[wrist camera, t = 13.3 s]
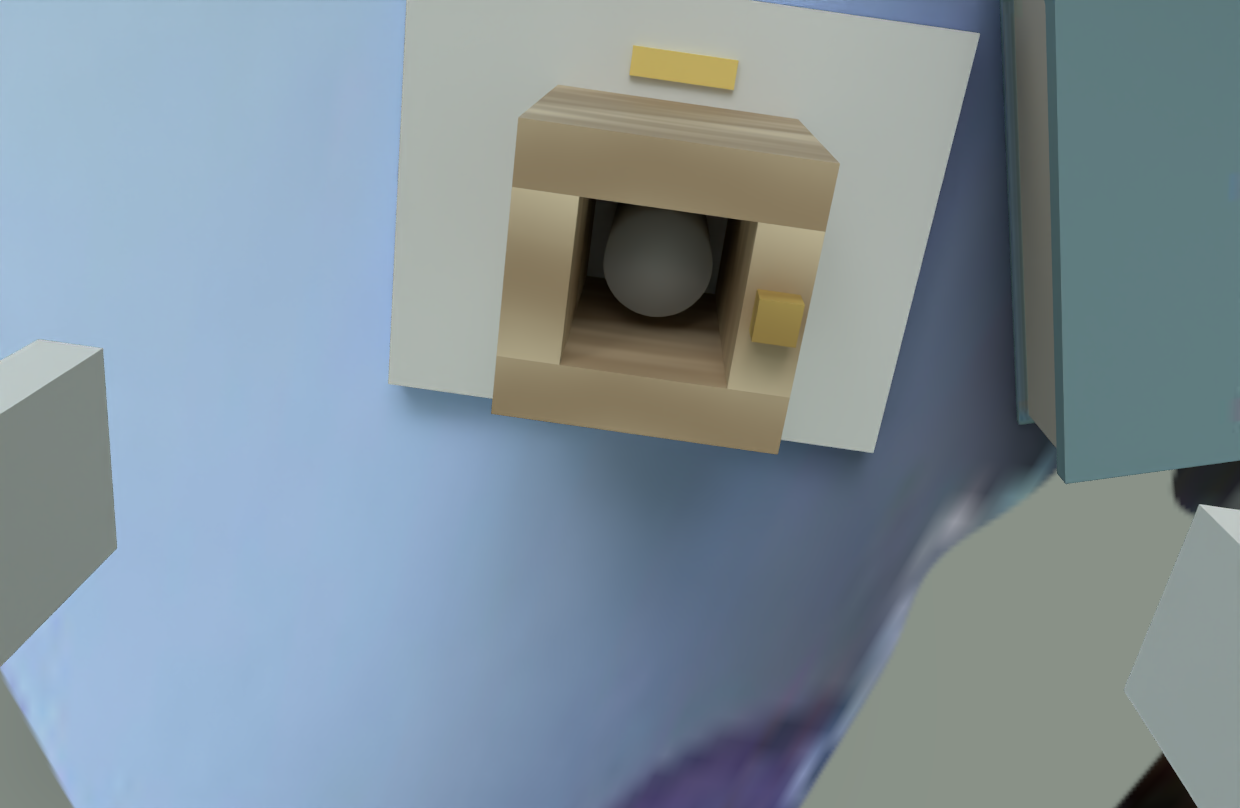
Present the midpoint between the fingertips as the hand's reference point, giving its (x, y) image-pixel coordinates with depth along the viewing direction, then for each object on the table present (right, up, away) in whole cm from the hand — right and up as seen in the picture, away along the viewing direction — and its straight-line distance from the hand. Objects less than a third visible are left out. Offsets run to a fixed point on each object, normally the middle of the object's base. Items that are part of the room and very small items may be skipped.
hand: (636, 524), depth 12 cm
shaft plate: (+1, +7, +19) cm, 21 cm away
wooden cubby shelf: (+1, +7, +18) cm, 20 cm away
